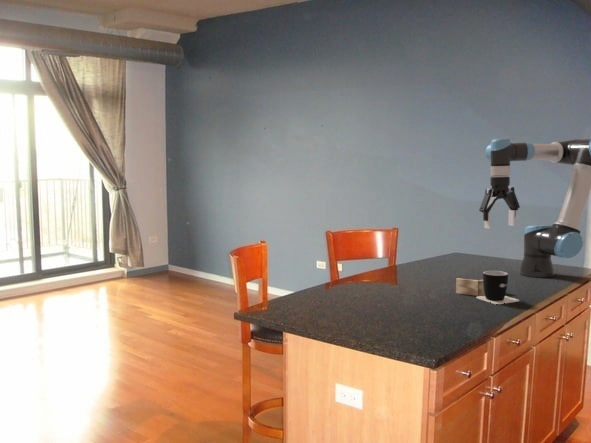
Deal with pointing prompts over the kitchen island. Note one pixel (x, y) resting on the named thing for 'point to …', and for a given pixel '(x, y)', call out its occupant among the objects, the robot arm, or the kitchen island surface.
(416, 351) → the kitchen island surface
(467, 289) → the wooden boomerang
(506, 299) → the plate
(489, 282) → the mug
